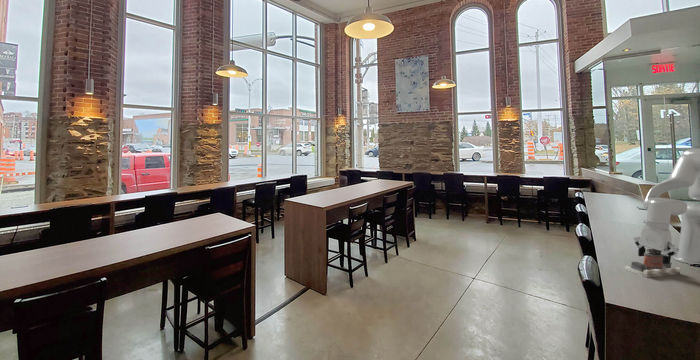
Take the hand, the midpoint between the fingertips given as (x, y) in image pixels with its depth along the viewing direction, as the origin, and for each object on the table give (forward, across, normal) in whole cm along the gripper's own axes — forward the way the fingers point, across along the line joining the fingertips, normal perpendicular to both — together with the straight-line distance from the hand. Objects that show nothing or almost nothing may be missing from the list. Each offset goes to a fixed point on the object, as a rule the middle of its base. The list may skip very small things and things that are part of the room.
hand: (653, 259), depth 137 cm
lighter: (+5, 0, 0) cm, 5 cm away
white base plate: (+6, 0, 0) cm, 6 cm away
